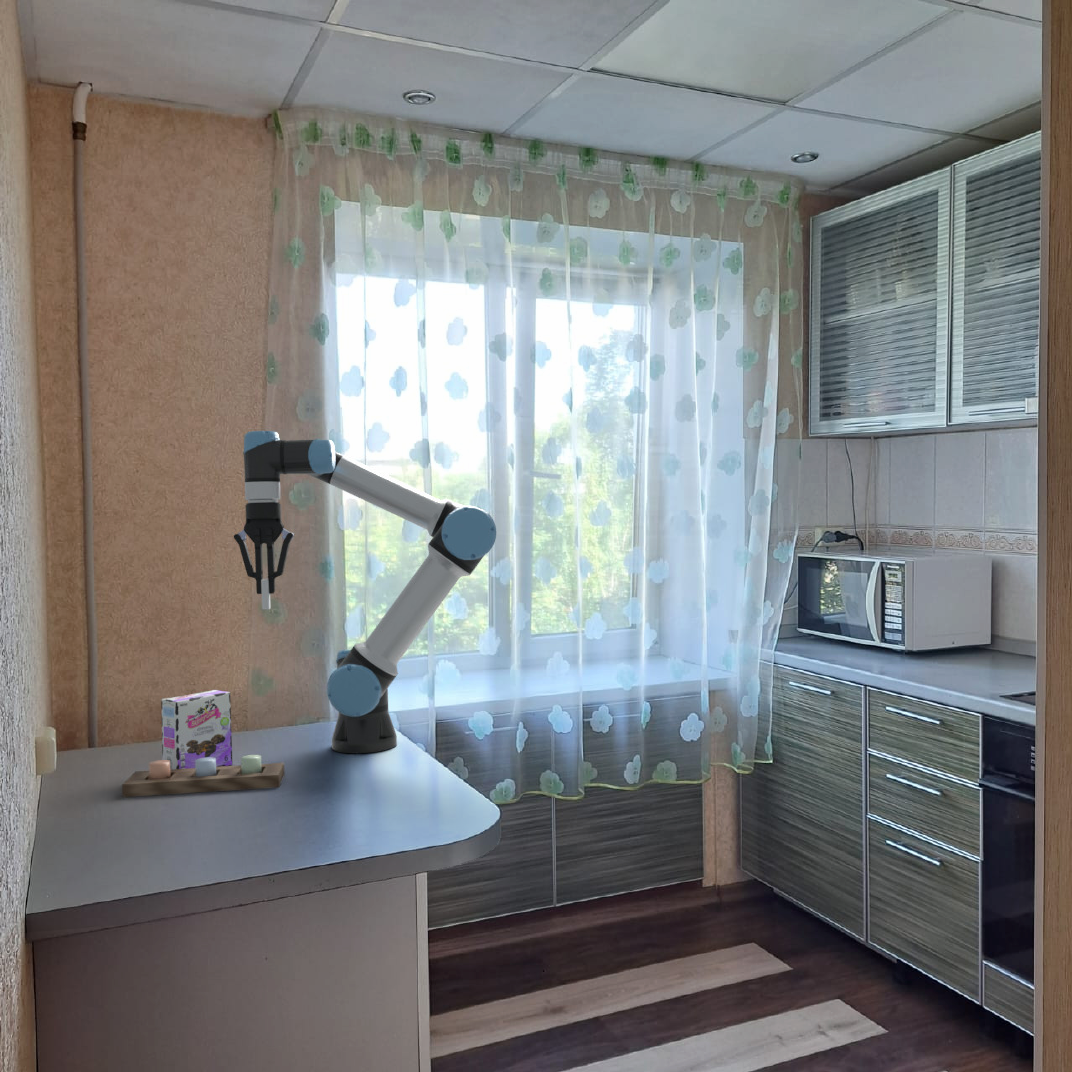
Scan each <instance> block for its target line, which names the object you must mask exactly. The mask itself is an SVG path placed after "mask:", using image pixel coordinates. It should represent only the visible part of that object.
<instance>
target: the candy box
mask: <svg viewBox="0 0 1072 1072" xmlns="http://www.w3.org/2000/svg"><path fill="white" fill-rule="evenodd" d="M160 702H161V703H160V705H161V706H160V707H161V744H162V746H161V748H162V751H161V752H162V756H161V757H162V758H161V760H169V761H170V769H187V768H195V760H197V759H200V758H206V757H213V758H216V767H221V766H233V742H232V741H233V739H232V738H233V736H232V710H231V709H232V707H231V703H232V702H231V692H230V691H225V690H218V689H212V690H208V691H201V692H196V693H192V694H185V695H180V696H174V697H167V698H161V700H160Z"/></svg>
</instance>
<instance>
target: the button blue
mask: <svg viewBox="0 0 1072 1072" xmlns="http://www.w3.org/2000/svg"><path fill="white" fill-rule="evenodd" d="M195 768H196V777H201V776H216V758H213V757H206V758H200V759H197V760H195Z"/></svg>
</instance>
